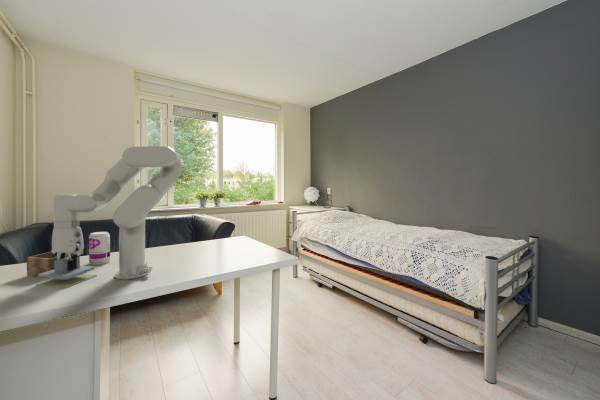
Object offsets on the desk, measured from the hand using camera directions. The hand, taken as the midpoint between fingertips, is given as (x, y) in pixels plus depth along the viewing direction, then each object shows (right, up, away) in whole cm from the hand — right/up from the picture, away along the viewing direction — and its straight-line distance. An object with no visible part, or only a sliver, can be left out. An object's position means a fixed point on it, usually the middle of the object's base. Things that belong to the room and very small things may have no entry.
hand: (67, 268), depth 103 cm
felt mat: (0, -5, 0) cm, 5 cm away
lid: (0, -3, 0) cm, 3 cm away
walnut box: (-14, -4, +8) cm, 16 cm away
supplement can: (-5, -4, +23) cm, 24 cm away
